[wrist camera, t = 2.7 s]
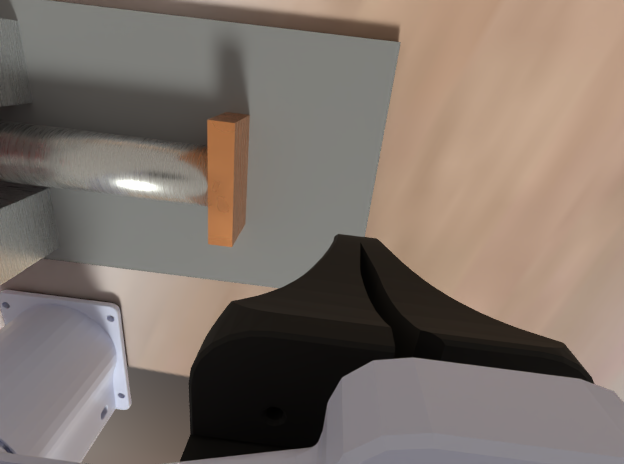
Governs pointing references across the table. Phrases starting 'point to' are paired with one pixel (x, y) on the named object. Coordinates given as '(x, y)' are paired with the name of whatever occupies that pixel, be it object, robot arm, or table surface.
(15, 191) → the hitch block
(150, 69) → the mat
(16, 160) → the pin
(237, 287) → the table surface
